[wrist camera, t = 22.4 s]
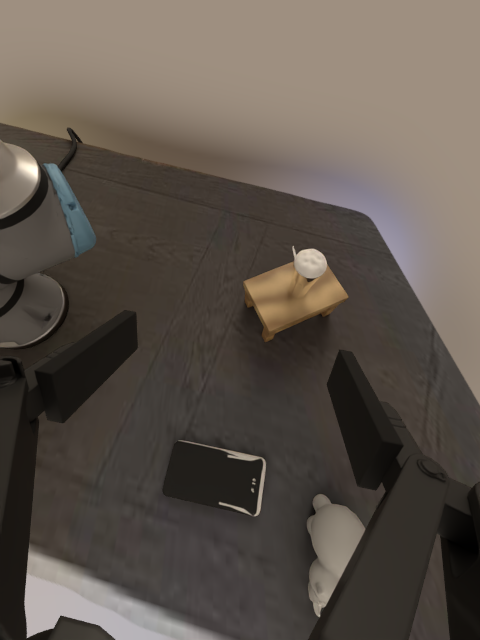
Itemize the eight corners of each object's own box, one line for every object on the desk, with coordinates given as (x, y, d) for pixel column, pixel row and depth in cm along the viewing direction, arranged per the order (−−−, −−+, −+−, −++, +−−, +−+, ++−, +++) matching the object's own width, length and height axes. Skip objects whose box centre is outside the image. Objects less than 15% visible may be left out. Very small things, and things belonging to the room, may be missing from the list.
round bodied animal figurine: (281, 570, 35) (294, 617, 27) (313, 483, 39) (333, 503, 31) (328, 602, 34) (356, 661, 26) (357, 509, 37) (389, 537, 29)
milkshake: (285, 272, 43) (298, 233, 33) (314, 284, 42) (336, 248, 33) (275, 293, 41) (286, 259, 32) (305, 306, 40) (325, 275, 31)
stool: (242, 300, 50) (243, 281, 42) (306, 274, 52) (318, 251, 44) (264, 344, 46) (269, 331, 39) (331, 314, 49) (348, 297, 41)
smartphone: (175, 439, 39) (266, 459, 38) (177, 438, 41) (266, 458, 40) (161, 494, 37) (259, 517, 36) (163, 492, 38) (258, 513, 37)
